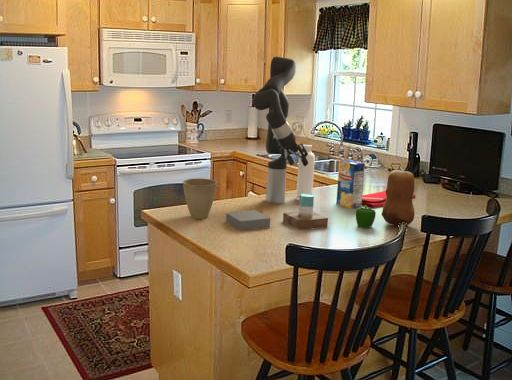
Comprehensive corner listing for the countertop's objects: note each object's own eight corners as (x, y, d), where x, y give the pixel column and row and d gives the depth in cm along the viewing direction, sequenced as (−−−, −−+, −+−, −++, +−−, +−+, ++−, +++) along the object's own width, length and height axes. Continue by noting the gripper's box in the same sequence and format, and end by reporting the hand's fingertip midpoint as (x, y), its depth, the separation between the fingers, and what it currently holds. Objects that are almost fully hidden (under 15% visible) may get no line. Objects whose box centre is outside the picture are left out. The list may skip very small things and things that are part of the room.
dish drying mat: (415, 198, 314) (416, 191, 314) (373, 209, 286) (374, 202, 285) (390, 193, 325) (391, 186, 324) (347, 203, 296) (348, 196, 295)
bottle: (312, 201, 295) (316, 146, 289) (296, 200, 295) (299, 146, 289) (311, 197, 303) (314, 144, 297) (295, 197, 303) (299, 143, 297)
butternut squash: (407, 222, 264) (413, 168, 258) (416, 230, 251) (422, 173, 245) (377, 221, 263) (382, 167, 258) (385, 229, 250) (390, 172, 245)
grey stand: (225, 221, 251) (226, 212, 251) (254, 218, 258) (254, 210, 257) (240, 230, 239) (240, 221, 239) (269, 227, 246) (270, 218, 245)
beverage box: (351, 208, 284) (355, 164, 279) (336, 203, 293) (339, 160, 288) (361, 207, 288) (365, 163, 283) (346, 202, 297) (349, 159, 292)
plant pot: (178, 213, 261) (179, 178, 258) (210, 211, 267) (211, 177, 263) (186, 222, 248) (187, 186, 244) (220, 220, 253) (221, 184, 250)
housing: (301, 216, 249) (302, 196, 247) (298, 213, 254) (299, 193, 252) (312, 216, 250) (313, 196, 248) (309, 213, 255) (311, 193, 253)
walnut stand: (283, 221, 256) (283, 212, 255) (309, 218, 262) (310, 210, 261) (299, 230, 244) (300, 220, 243) (327, 227, 250) (328, 218, 249)
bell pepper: (360, 222, 259) (362, 201, 257) (377, 226, 254) (379, 204, 252) (351, 226, 253) (352, 204, 250) (367, 230, 248) (369, 207, 245)
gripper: (300, 128, 236) (316, 160, 243) (277, 128, 247) (293, 158, 254) (289, 138, 233) (305, 170, 240) (266, 138, 244) (282, 169, 251)
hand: (299, 164), depth 247 cm, fingers open, 8 cm apart
